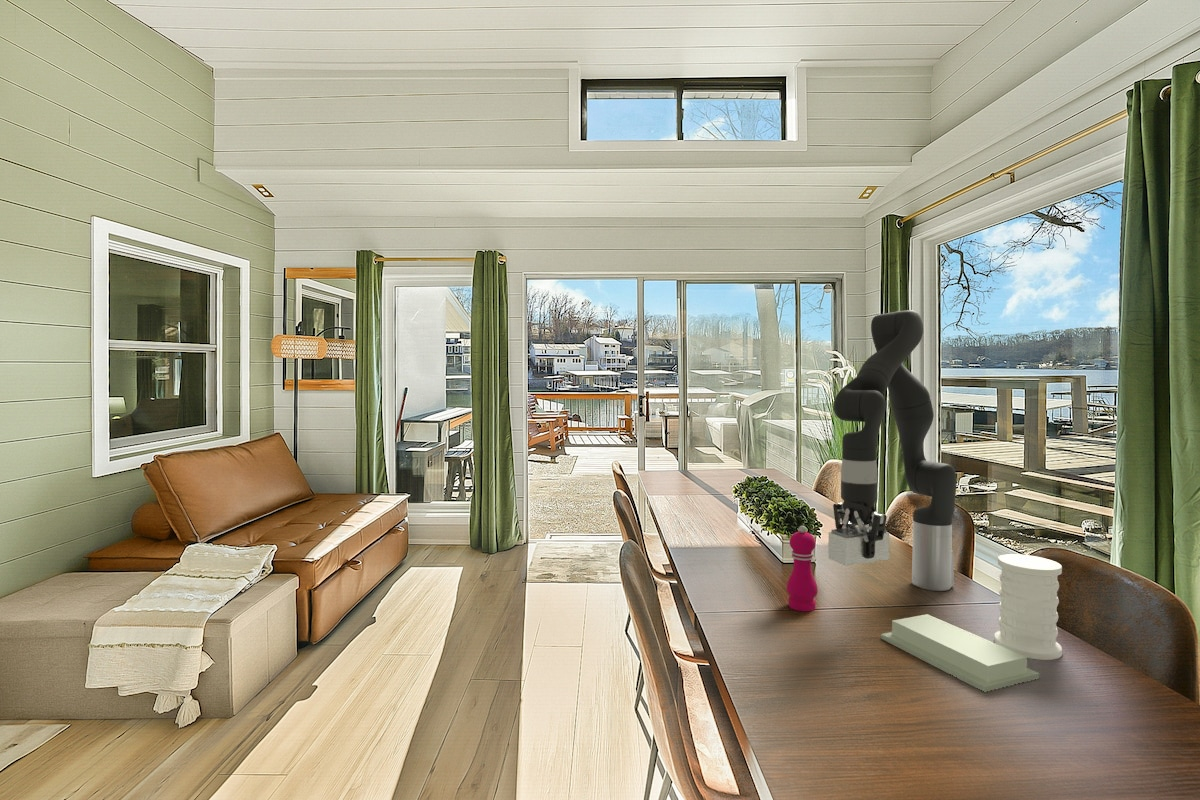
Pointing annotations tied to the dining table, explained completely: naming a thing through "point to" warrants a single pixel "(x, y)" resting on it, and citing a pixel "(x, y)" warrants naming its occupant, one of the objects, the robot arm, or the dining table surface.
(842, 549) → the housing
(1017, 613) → the decorative container
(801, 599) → the pepper mill
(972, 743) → the dining table surface
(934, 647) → the stand
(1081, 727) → the dining table surface
